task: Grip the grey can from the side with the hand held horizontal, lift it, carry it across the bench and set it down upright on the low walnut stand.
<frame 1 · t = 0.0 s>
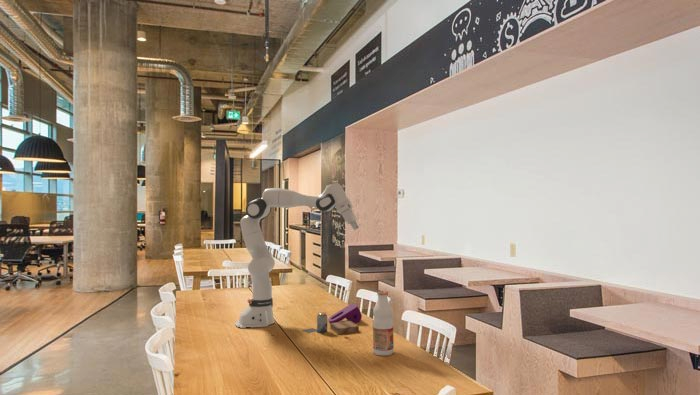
hand: (356, 229, 258), 54 cm above the table, tool tilted 30°, fingers open, 8 cm apart
fruit juice: (383, 353, 209), on the table
gasket plate: (310, 331, 247), on the table
mounting bracket: (343, 322, 264), on the table
stand: (344, 330, 247), on the table
grey can: (322, 331, 244), on the table
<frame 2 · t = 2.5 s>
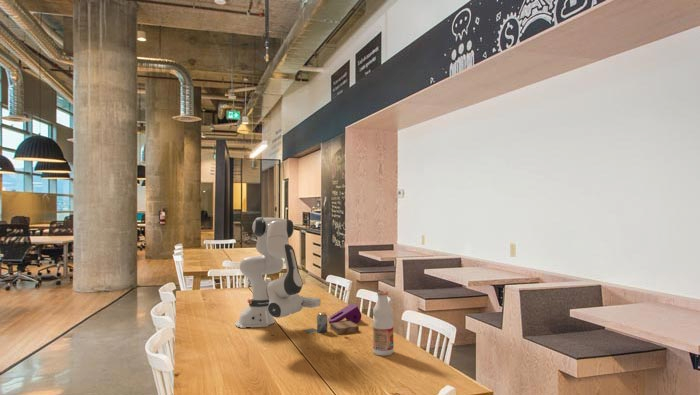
hand: (309, 298, 234), 20 cm above the table, tool horizontal, fingers open, 8 cm apart
nothing on the table moved.
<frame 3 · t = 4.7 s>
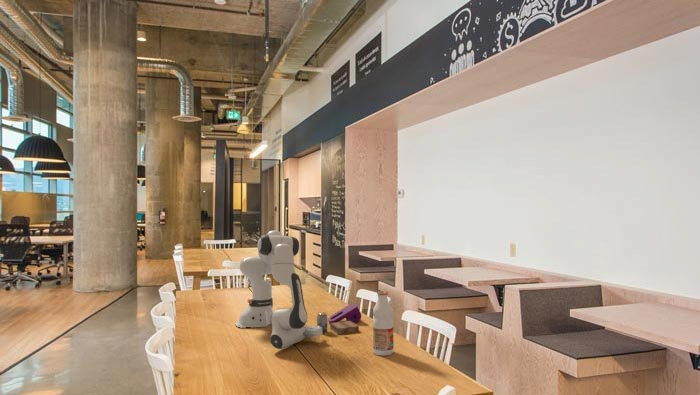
hand: (311, 326, 236), 5 cm above the table, tool horizontal, fingers open, 8 cm apart
nothing on the table moved.
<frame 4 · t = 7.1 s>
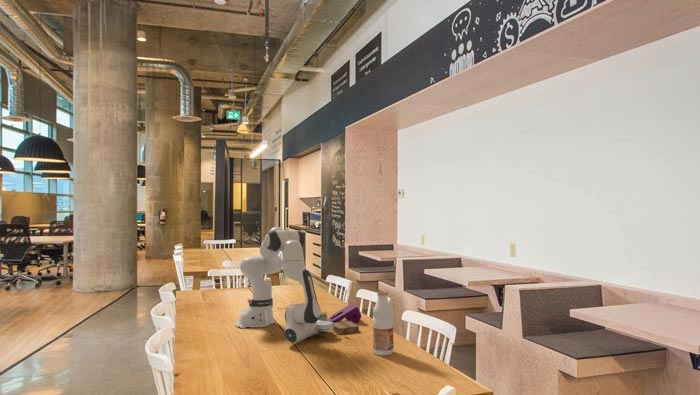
hand: (323, 321, 245), 6 cm above the table, tool horizontal, fingers closed on grey can, 5 cm apart
grey can: (322, 331, 244), on the table, touching gripper
everything else where it was.
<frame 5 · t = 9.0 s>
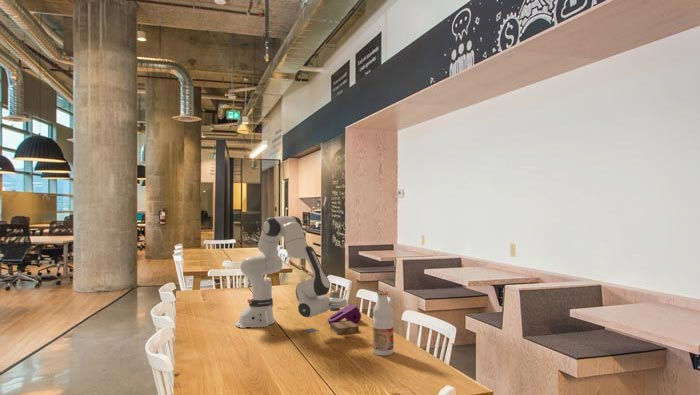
hand: (335, 299, 246), 17 cm above the table, tool horizontal, fingers closed on grey can, 5 cm apart
grey can: (334, 309, 245), point 11 cm above the table, touching gripper
everything else where it was.
when the fingers open (10 cm above the table, at t = 11.1 s): grey can drops 1 cm, resting on stand.
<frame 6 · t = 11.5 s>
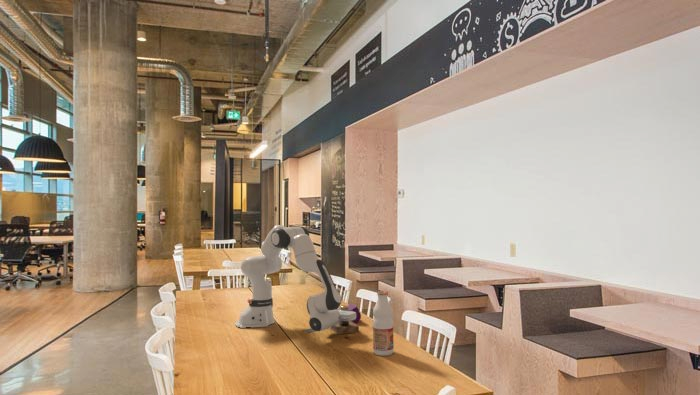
hand: (344, 311, 247), 10 cm above the table, tool horizontal, fingers open, 8 cm apart
grey can: (344, 324, 247), point 3 cm above the table, touching stand
everything else where it was.
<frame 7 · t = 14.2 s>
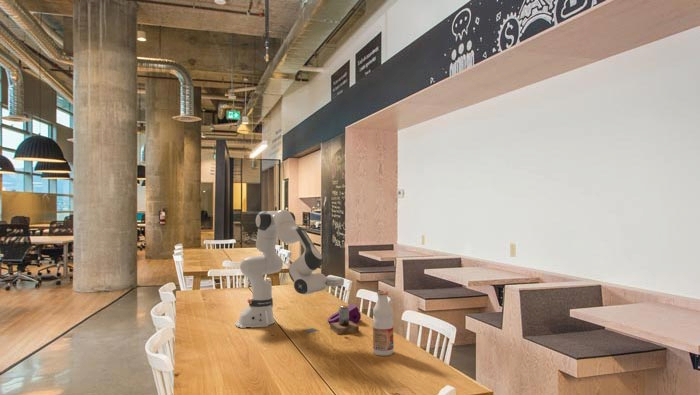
hand: (331, 279, 237), 30 cm above the table, tool horizontal, fingers open, 8 cm apart
nothing on the table moved.
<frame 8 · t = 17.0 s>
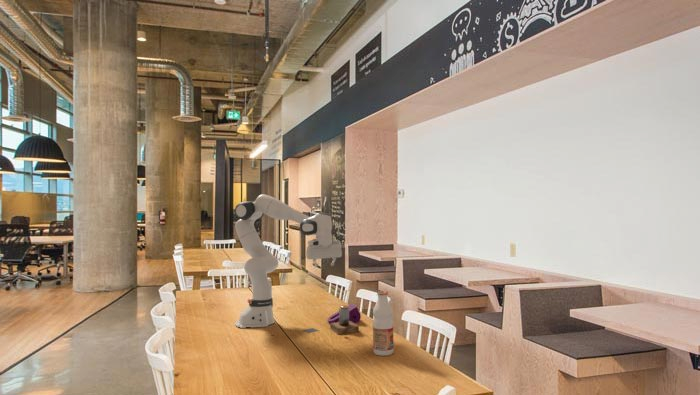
hand: (324, 266, 252), 34 cm above the table, tool pointing down, fingers open, 8 cm apart
nothing on the table moved.
at the end: grey can inside the target area on the stand (0.1 cm from its centre), point 3.0 cm above the stand's base; grey can tilted 1°; the gripper is holding nothing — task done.
